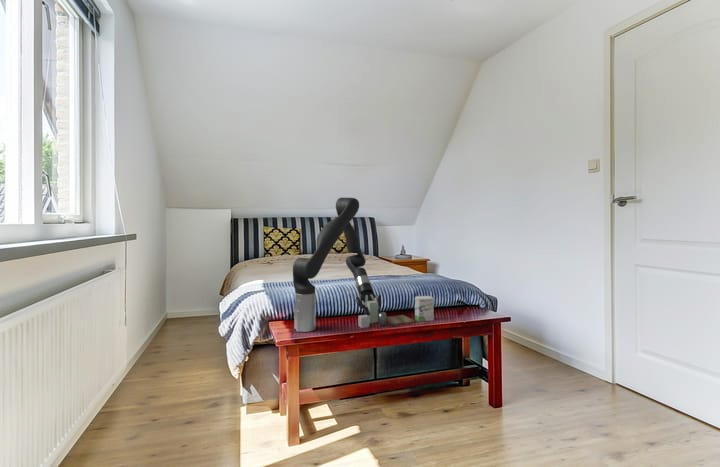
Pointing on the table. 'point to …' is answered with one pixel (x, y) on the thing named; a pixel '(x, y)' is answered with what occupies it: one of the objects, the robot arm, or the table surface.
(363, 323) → the grey block
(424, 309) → the ink box
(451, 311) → the table surface
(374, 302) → the sage block
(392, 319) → the walnut board
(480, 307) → the table surface
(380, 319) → the metal cylinder
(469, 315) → the table surface
